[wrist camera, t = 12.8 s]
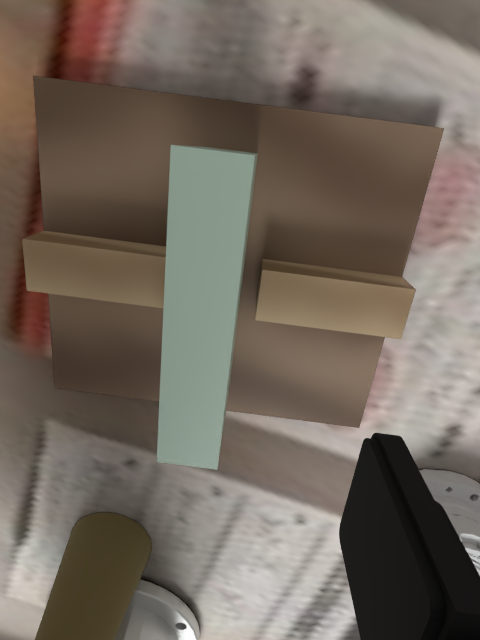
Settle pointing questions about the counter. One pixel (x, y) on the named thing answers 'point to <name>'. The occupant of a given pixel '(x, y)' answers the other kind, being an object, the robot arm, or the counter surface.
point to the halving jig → (261, 251)
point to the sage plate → (201, 298)
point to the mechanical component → (458, 506)
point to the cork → (96, 578)
